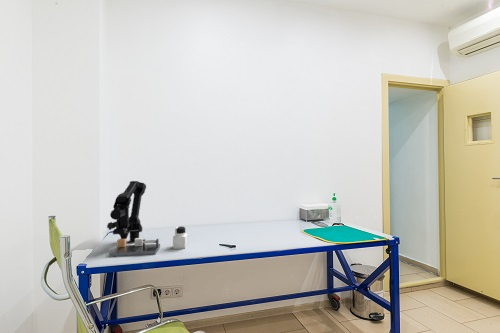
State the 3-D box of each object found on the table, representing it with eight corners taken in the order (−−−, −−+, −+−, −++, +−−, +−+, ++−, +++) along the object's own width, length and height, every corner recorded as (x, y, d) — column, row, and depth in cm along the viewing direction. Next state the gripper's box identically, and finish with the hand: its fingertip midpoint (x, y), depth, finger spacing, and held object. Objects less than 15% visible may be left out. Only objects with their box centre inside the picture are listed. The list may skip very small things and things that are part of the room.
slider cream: (136, 244, 161) (136, 238, 161) (143, 244, 161) (143, 237, 161) (134, 246, 158) (134, 239, 158) (141, 246, 158) (141, 239, 158)
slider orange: (118, 245, 159) (118, 238, 159) (126, 245, 160) (126, 238, 160) (117, 247, 156) (117, 240, 156) (124, 246, 157) (124, 239, 157)
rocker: (147, 243, 161) (147, 240, 161) (157, 242, 162) (157, 240, 162) (142, 243, 150) (143, 240, 151) (154, 242, 151) (154, 240, 151)
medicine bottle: (187, 245, 167) (187, 225, 167) (185, 248, 160) (184, 228, 160) (175, 245, 167) (175, 225, 167) (172, 248, 160) (172, 228, 160)
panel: (117, 249, 160) (117, 238, 160) (160, 247, 164) (160, 236, 164) (109, 256, 146) (109, 244, 146) (156, 254, 150) (155, 242, 150)
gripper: (114, 214, 170) (114, 239, 169) (102, 219, 151) (103, 248, 151) (133, 213, 171) (133, 238, 171) (124, 219, 153) (124, 247, 153)
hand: (123, 242), depth 161 cm, fingers closed
